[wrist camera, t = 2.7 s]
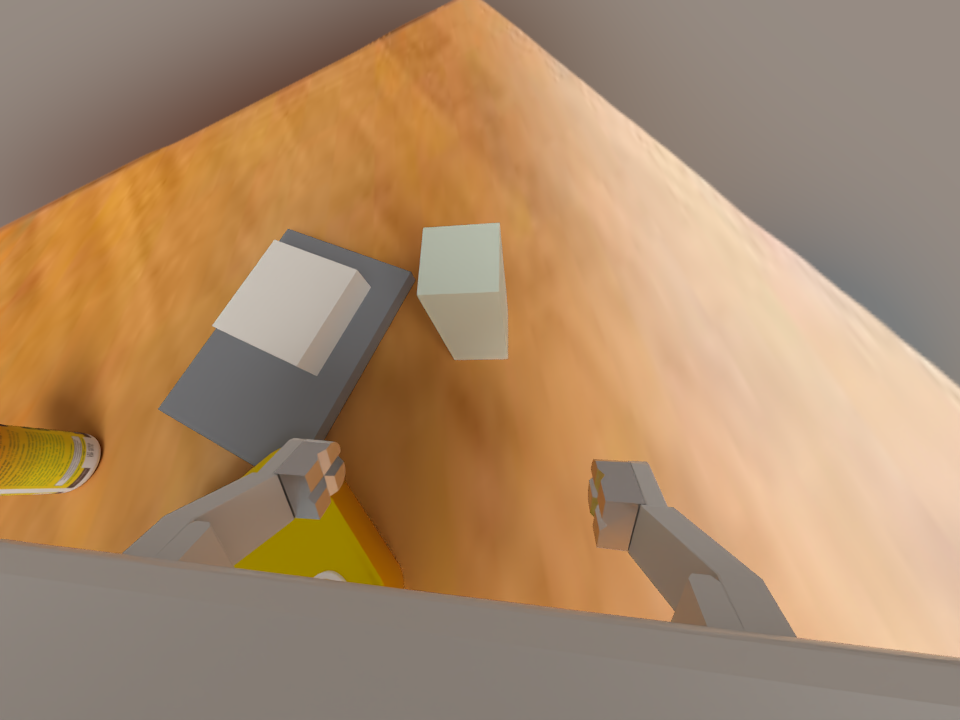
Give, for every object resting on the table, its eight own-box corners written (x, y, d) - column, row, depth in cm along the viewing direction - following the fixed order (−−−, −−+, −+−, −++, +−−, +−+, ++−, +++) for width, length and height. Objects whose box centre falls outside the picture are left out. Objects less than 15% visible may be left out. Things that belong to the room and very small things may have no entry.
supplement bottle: (106, 425, 34) (-57, 404, 25) (104, 480, 32) (-74, 480, 23) (53, 445, 34) (-131, 432, 24) (48, 502, 32) (-154, 512, 23)
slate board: (298, 485, 30) (260, 486, 26) (173, 412, 34) (123, 402, 29) (415, 280, 35) (400, 253, 31) (296, 237, 39) (269, 208, 35)
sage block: (508, 359, 31) (499, 291, 20) (454, 360, 32) (416, 295, 21) (508, 310, 33) (499, 222, 22) (457, 312, 34) (423, 227, 22)
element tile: (321, 440, 31) (287, 433, 27) (416, 587, 27) (395, 609, 22) (179, 557, 29) (117, 571, 25) (254, 740, 25) (194, 798, 20)
